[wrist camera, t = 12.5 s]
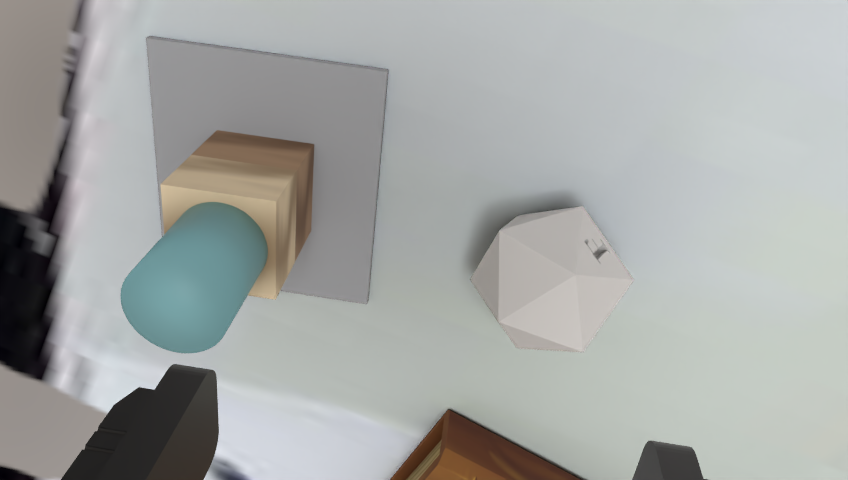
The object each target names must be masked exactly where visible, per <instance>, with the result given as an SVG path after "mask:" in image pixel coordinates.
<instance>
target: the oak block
mask: <svg viewBox="0 0 848 480" xmlns="http://www.w3.org/2000/svg"><path fill="white" fill-rule="evenodd" d="M160 186H161V199H162V211H163V224H164V234H165V233H166V232H167V231H168V230H169V229H170V228H171V227H172V225H173V224H174V223H175V222H176V221H177V220H178V219H179V218H180V216H181V215H182V214H183V213H184V212H185V211H186V210H188V209H189V208H191V207H192V206H195V205H197V204H200V203H205V202H220V203H225V204H229V205H232V206H234V207H236V208H238V209H240V210H242V211H244V212H245V213H246V214H248V215H249V216H250V217H251V218H252V219H253V220H254V221H255V222H256V223H257V224H258V225H259V227H260V228H261V230H262V232H263V234H264V236H265V239H266V242H267V246H268V257H267V261H266V264H265V266H264V268H263V270H262V272H261V273H260V275H259V277H258V278H257V280H256V282H255V283H254V285H253V287H252V289H251V290H250V292H249V294H248V295H249V296H255V297H262V298H268V299H275V300H276V298H277V296H278V294H279V292H280V290H281V288H282V286H283V284H284V282H285V280H286V279H287V277H288V275H289V273H290V271H291V269H292V267H293V265H294V263H295V236H296V193H297V170H292V169H286V168H279V167H272V166H265V165H258V164H251V163H244V162H237V161H230V160H224V159H217V158H210V157H203V156H196V155H190V156H189V157H188V158H187V159H186V160H185V161H184V162H183V163H182V164H181V165H180V166H179V167H178V168H177V169H176V170H175V171H174V172H173V173H172V174H171V175H170V176H169V177H167V178H166V179H165V180H164V181H163V182H162V183H161V184H160Z"/></svg>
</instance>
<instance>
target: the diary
mask: <svg viewBox="0 0 848 480" xmlns="http://www.w3.org/2000/svg"><path fill="white" fill-rule="evenodd" d="M390 480H581V479H579V478H577V477H575V476H573V475H571V474H569V473H567V472H566V471H564V470H562V469H560V468H558V467H556V466H554V465H552V464H550V463H549V462H547V461H545V460H543V459H541V458H539V457H537V456H535V455H533V454H532V453H530V452H528V451H526V450H524V449H522V448H520V447H518V446H516V445H515V444H513V443H511V442H509V441H507V440H505V439H503V438H501V437H499V436H498V435H496V434H494V433H492V432H490V431H488V430H486V429H484V428H482V427H481V426H479V425H477V424H475V423H473V422H471V421H469V420H467V419H465V418H464V417H462V416H460V415H458V414H456V413H454V412H452V411H450V410H447V411H446V413H445V414H444V415H443V416H442V417H441V419H440V420H439V421H438V422H437V423H436V425H435V426H434V427H433V428H432V430H431V431H430V432H429V433H428V434H427V436H426V437H425V438H424V439H423V440H422V442H421V443H420V444H419V445H418V446H417V448H416V449H415V450H414V451H413V453H412V454H411V455H410V456H409V457H408V459H407V460H406V461H405V462H404V463H403V465H402V466H401V467H400V468H399V469H398V471H397V472H396V473H395V474H394V476H393V477H392V478H391V479H390Z"/></svg>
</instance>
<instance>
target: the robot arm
mask: <svg viewBox="0 0 848 480" xmlns="http://www.w3.org/2000/svg"><path fill="white" fill-rule="evenodd" d="M218 433H219V426H218V402H217V379H216V373H215V371H214V370H209V369H203V368H196V367H190V366H184V365H177V364H174V365H172V366H171V367H170V368H169V369H168V370H167V372H166V373H165V375H164V376H163V378H162V379H161V381H160V382H159V384H158V386H157V387H156V389H155V390H152V389H146V388H140V387H139V388H137V389H136V390H134V391H133V392H132V393H130V394H129V395H127V396H126V397H125V398H123V399H122V400H120V401H119V402H118V403H116V404H115V405H114V406H113V407H112V409H111V410H110V411H109V413H108V414H107V416H106V417H105V418H104V420H103V421H102V423H101V424H100V425H99V427H98V431H97V432H94V434H93V435H92V437H91V438H90V439H89V441H88V442H87V444H86V446H85V450H82V451H81V452H80V454H79V455H78V456H77V458H76V459H75V461H74V462H73V463H72V465H71V466H70V468H69V469H68V470H67V472H66V473H65V475H64V476H63V477H62V479H61V480H203V479H204V477H205V475H206V473H207V471H208V469H209V467H210V465H211V463H212V460H213V457H214V454H215V451H216V447H217V441H218ZM632 480H707V479H703V476H702V473H701V470H700V466H699V463H698V460H697V457H696V454H695V452H694V450H693V449H692V448H691V447H688V446H681V445H675V444H669V443H662V442H656V441H648V442H647V443H646V445H645V447H644V449H643V452H642V455H641V457H640V460H639V463H638V466H637V468H636V471H635V474H634V477H633V479H632Z"/></svg>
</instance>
